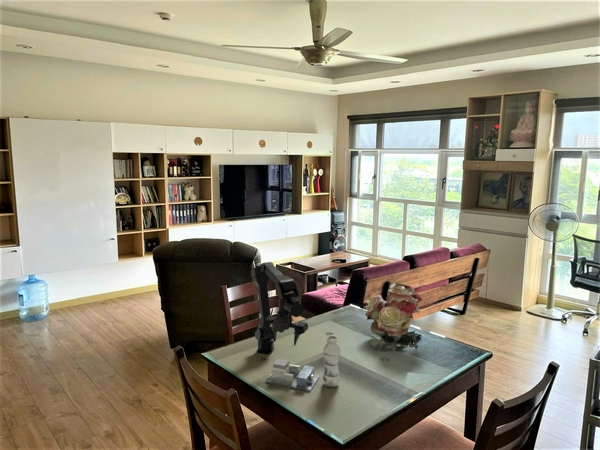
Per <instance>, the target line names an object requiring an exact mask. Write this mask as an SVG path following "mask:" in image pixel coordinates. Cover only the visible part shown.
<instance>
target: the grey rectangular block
mask: <svg viewBox="0 0 600 450" xmlns="http://www.w3.org/2000/svg"><path fill="white" fill-rule="evenodd" d="M289 364H290V360H289V359H283V358H280V357H279V358H277V359H276V360H275V362H274V363H273V365H272V366H273V369H272V371H278V372H283V373H288V374H289Z"/></svg>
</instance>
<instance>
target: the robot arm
mask: <svg viewBox="0 0 600 450" xmlns="http://www.w3.org/2000/svg"><path fill="white" fill-rule="evenodd" d="M250 275H251V279H252V282H253V284H254V285H255V286H256V289H257V291H256V292H257V297H258V298H257V299H258V308H259V315H260V317H259V320H258V323H257V328H256V331H255V332H254V338H255V340H257V350H256V351H255V352H256V353H260V354H266V355H270V354H271V353H272V351H274V350H275V344H274V342H276V341H277V334H278V333H284V332H285V331H286V330H289V329H290V328H291V329H293V330H294V332H293V335H294V337H293V347H295V346H297V343H298V341H299V338H300V336H301V335H302V334H303V335H304V334H305V333H306V332H307V330H308V329H309V324H308V322H306V321H301V320H299V321H298V322H297V323H293V321H294V318H298V317H301V315H302V314H303V313H304V310H305V309H304V306H303V304H302V303H300V299H298V298H299V297H300V294H299V293H300V291H299V288H298V287H297V284H296V282H295V280H294V279H293V278H292V277H290V276H288V275H284V274H283V273H282V272H281V271H280V270H279V269H278V268H277V267H276V266H275V265H274V263H273V262H271V261H267V262H262V263H261V264H260V265H257V266H254V267H252V269H251V270H250ZM270 280H271V281H272V282H273V283H274V285H275V288H274V289H275V290H276V292H277V293H276V295H277V296H278V311H277V313H276V316H272V314H271V313H272V312H271V306H270V297H269V288H268V284H269V283H270Z"/></svg>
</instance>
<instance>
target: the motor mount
mask: <svg viewBox="0 0 600 450" xmlns="http://www.w3.org/2000/svg"><path fill="white" fill-rule="evenodd" d="M320 376H321V375H319V374H315V366H310V365H304V366H303V368H302V369H301V365H298V364H297V365H296V364H291V363H289V374H288V373H283V372H278V371H273V370H272V371H271V373H270V374H269V375H268V376H267V378H266V380H265V384H270V385H274V386H280V387H284V388H288V389H289V388H290V389H293V390H299V391H302V392H308V393H311V392H312V390H313V389H314V387H315V385H316V384H317V382H318V380H319V379H320V378H321V377H320Z"/></svg>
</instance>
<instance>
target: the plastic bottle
mask: <svg viewBox="0 0 600 450" xmlns="http://www.w3.org/2000/svg"><path fill="white" fill-rule="evenodd" d="M326 338H327V339H326V342H327V343H326V344H325V345H324V347H323V349H322V350H323V358H324V359H323V361H324V362H323V363H324V368H323V369H324V370H323V376H322V382H323V385H325V386H326V387H328V388H335V387H338V386H339V384H340V373H339V359H340V352H341V350H340V347H339V345H338V343H337V342H338V340H337V336H336V335H328V336H327V337H326Z"/></svg>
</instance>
